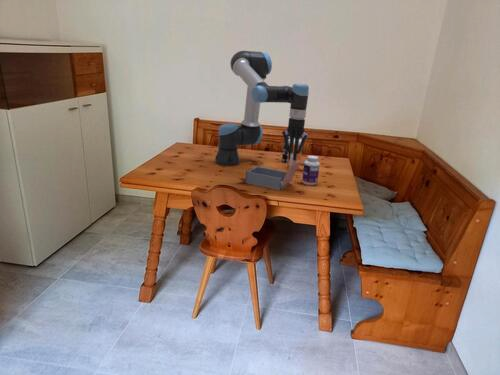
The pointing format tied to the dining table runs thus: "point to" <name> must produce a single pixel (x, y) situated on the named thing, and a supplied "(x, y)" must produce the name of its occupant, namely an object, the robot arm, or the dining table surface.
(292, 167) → the tailgate
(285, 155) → the spotted tube
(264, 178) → the grey open box
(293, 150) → the shaker bottle
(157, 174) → the dining table surface
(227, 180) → the dining table surface
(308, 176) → the pill bottle
